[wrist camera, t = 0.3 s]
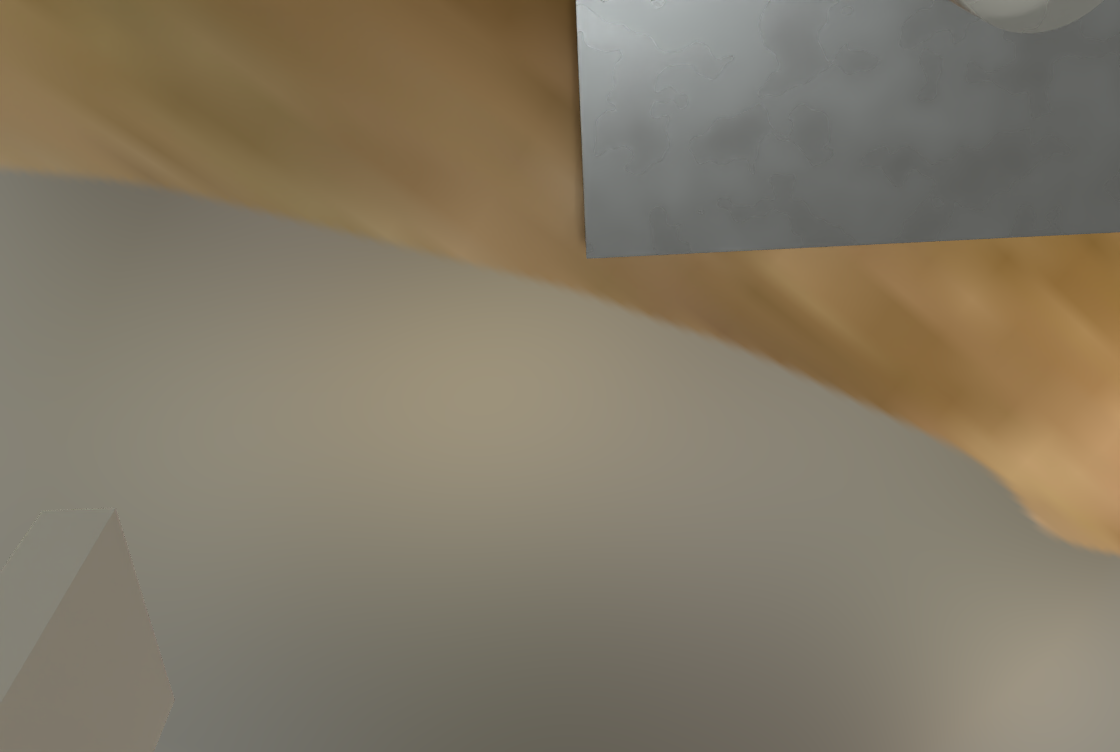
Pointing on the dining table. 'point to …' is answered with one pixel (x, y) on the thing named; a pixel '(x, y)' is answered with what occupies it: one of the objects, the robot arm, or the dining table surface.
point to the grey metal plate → (845, 122)
